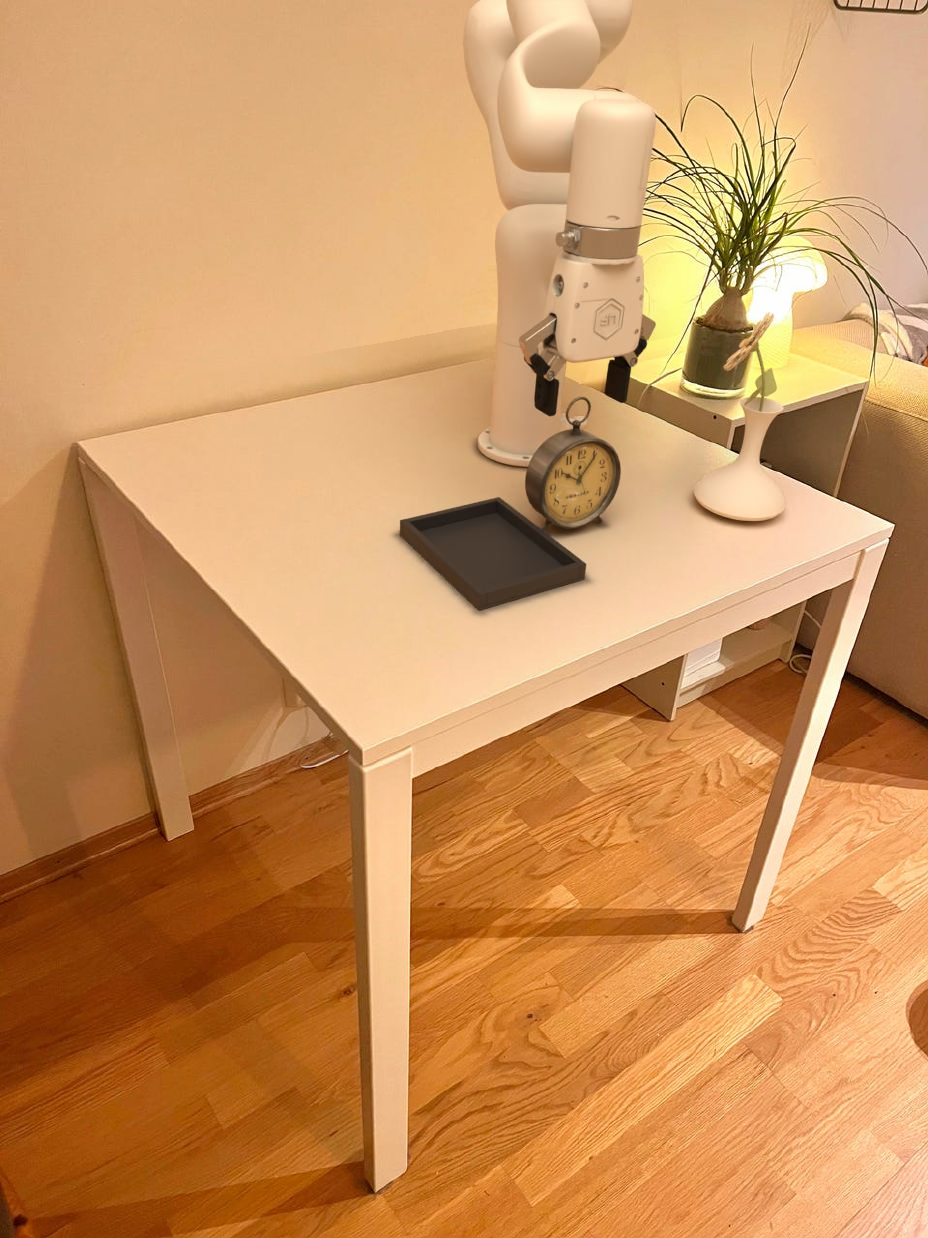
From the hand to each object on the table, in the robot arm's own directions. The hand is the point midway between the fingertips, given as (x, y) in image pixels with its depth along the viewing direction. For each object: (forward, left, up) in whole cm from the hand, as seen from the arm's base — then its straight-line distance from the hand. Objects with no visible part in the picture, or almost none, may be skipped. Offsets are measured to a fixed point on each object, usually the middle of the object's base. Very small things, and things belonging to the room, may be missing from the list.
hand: (580, 405), depth 101 cm
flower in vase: (-22, +6, -16) cm, 28 cm away
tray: (+12, +2, -15) cm, 20 cm away
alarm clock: (0, 0, -16) cm, 16 cm away
